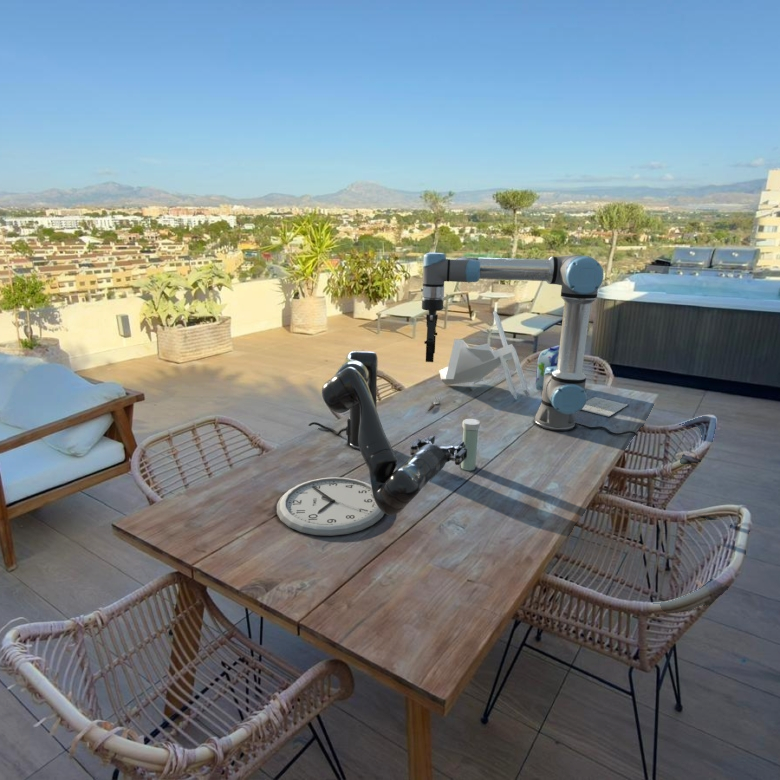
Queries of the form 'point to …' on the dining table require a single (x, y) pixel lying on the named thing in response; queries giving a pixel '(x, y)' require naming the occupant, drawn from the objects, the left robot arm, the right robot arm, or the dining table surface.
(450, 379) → the white plastic object
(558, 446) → the dining table surface
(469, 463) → the pale green cylinder
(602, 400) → the invitation card
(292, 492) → the wall clock
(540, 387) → the lunch box
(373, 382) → the left robot arm
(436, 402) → the fork
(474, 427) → the lid
